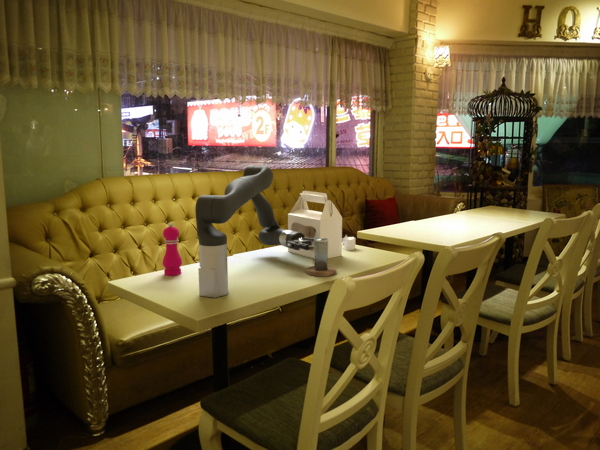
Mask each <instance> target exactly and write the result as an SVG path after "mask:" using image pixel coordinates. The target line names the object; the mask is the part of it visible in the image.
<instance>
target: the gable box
mask: <svg viewBox="0 0 600 450" xmlns="http://www.w3.org/2000/svg"><path fill="white" fill-rule="evenodd" d="M299 195H300V196H298V197H297V198H298V199H297V200H296V201H295V203H294V204H293V206H292V208H291V209H290V211H288V212H289V213H287V230H292V231H297V232H301V233H303V234H304V236H305V237H308V238H312V237H316V238H327V239H328V259H332V258H336V257H341V256H342V253H343V251H342V247H343V243H342V238H343V216H342V215H341V213H340V211H339V210H338V209H337V207H336V206H335V204H334V203H333V201H332V200H331V199H329V194H328V193H327V192H319V191H311V190H302V192H299ZM307 202H310V203H318V204H324V205H323V209H322V211H319V210H318V211H317V210H312V209H310V208H309V206H308V205H309V204H308V203H307ZM311 245H312V242H311ZM287 251H288V253H293V254H296V255H300V256H303V257H307V258H311V259H314V247H309V250H304V249H300V250H294V249H290V248H287Z"/></svg>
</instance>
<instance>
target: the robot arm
mask: <svg viewBox="0 0 600 450" xmlns="http://www.w3.org/2000/svg"><path fill="white" fill-rule="evenodd" d="M242 175H243V176H241V177H237V178H235V179H233V180H231V182H229V183H228V184H227V185H226V187H225V189H224V195H218V194H217V195H212V194H211V195H210V194H203V195H200V196H198V198H197V200H196V202H195V223H196V235H197V239H198V252H199V253H198V254H199V256H198V259H199V268H198V269H197V271H198V291H199V292H198V295H199V296H200V297H207V298H213V299H214V298H219V297H222V296H226V295H228V294H229V273H228V272H229V271H228V269H229V268H228V237H227V234H226V233H224V232H223V231H220V230H218V229H217V228H215V226H214V224H216V225H217V224H225V223H227V222H228V221H229V220H230V219H231V218H232V217H233V215H235V213H237V211H238V210H239V209H240V208H242V206H244V205H245V204H247V203H248V202H249V201H250V200H251V202H252V203H253V206H254V208H255V212H256V215H257V219H258V223H259V225H260V226H261V227H262V228H263V229H261V230H259V233H258V239H259V242H261V244H263V245H266V246H279V245H280V246H283V247H285V248H287V249H288V248H290V249H294V250H300V249H304V250H309V247H314V243H315V241H314V239H315V238H316V237H312V238H308V237H305V236H304V234H303V233H301V232H297V231H292V230H288V229H285V228H281V226H280V224H279V223H278V222H277V220H276V217H275V213H274V209H273V207H272V204H271V203H270V202H269V201H268V200H267V199H266V197H265V196H264V195H263V194H262V193H261V192H263V191H265V190H267V189H269V188H270V187H271V186H272V184H273V180H274V173H273V170H272V168H271V167H269V166H267V165H252V164H251V165H247V166H246V167H245V168H244V170H243V174H242ZM311 242H312V245H311Z"/></svg>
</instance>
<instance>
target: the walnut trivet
mask: <svg viewBox="0 0 600 450" xmlns="http://www.w3.org/2000/svg"><path fill="white" fill-rule="evenodd" d="M337 270H338V269H337V268H336V267H334V266H330V265H328V270H326V271H316V270H314V265H312V266H307V267H306V268H305V274H306V275H309V276H311V277H321V278H322V277H332V276H335V275H336V274H337V272H338V271H337Z"/></svg>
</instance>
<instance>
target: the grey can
mask: <svg viewBox="0 0 600 450" xmlns="http://www.w3.org/2000/svg"><path fill="white" fill-rule="evenodd" d="M314 241H315V243H314V258H313V260H314V263H313V264H314V265H313V266H314V270H316V271H326V270H328V266H329V263H328V262H329V258H328V239H327V238H315V239H314Z"/></svg>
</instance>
